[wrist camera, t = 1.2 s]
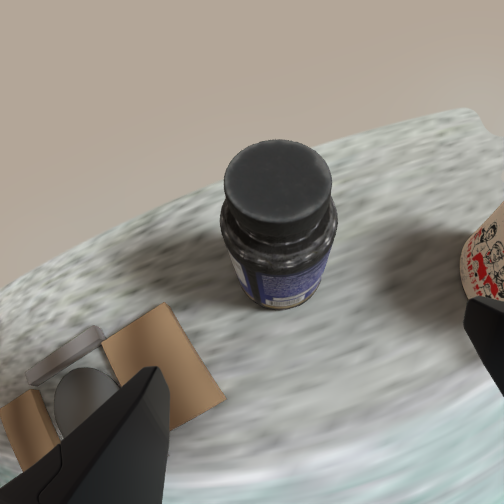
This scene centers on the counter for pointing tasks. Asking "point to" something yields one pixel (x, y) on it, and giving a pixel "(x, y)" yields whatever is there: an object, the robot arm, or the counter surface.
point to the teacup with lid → (485, 259)
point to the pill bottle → (278, 221)
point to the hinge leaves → (109, 381)
